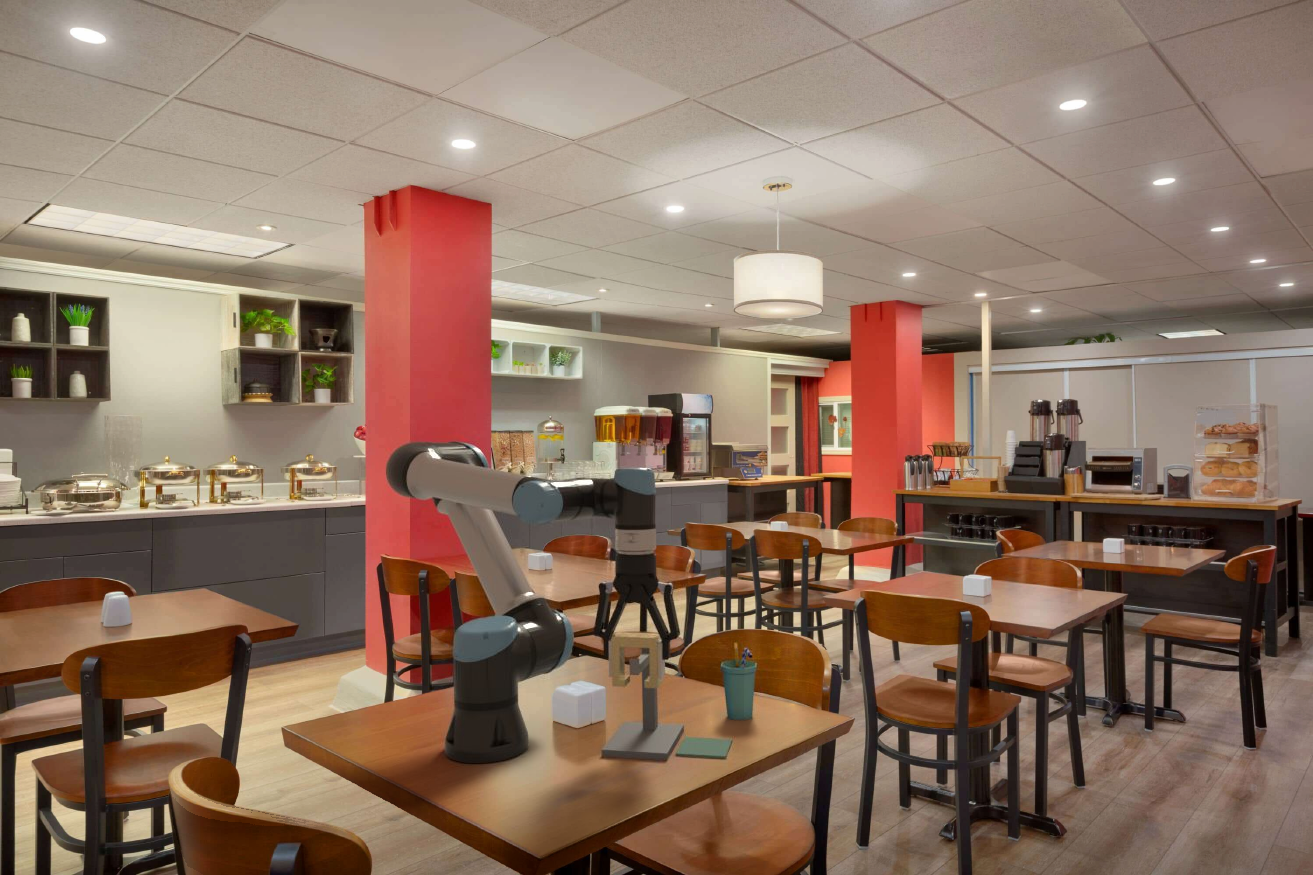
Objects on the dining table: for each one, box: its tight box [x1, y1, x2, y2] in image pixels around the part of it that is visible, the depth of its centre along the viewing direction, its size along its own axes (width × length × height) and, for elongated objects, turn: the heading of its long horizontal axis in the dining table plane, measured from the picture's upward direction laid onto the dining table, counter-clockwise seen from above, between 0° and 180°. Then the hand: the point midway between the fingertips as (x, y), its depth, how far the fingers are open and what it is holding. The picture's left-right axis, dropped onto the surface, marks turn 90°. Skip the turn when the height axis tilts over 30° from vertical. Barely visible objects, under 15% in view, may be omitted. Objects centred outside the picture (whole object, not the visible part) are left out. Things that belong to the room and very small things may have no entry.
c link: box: [611, 631, 663, 690], centre depth 151 cm, size 8×4×9 cm, turn 77°
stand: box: [600, 648, 685, 761], centre depth 155 cm, size 12×16×18 cm
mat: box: [675, 736, 733, 759], centre depth 151 cm, size 9×9×1 cm
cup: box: [720, 642, 758, 721], centre depth 169 cm, size 14×8×15 cm, turn 12°
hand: (637, 675), depth 151 cm, fingers closed on c link, 8 cm apart
